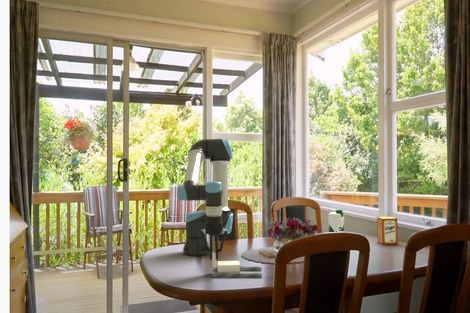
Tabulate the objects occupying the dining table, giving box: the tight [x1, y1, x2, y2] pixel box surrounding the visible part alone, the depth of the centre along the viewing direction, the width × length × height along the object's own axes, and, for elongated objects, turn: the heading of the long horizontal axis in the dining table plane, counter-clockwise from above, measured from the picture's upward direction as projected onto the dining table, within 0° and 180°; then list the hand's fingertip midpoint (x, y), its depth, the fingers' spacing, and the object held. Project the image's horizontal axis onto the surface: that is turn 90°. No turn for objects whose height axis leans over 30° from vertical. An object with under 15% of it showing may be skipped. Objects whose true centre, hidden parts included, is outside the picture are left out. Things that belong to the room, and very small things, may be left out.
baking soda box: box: [376, 216, 399, 245], centre depth 222 cm, size 10×6×16 cm
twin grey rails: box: [211, 265, 263, 279], centre depth 164 cm, size 22×12×2 cm, turn 87°
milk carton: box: [327, 209, 345, 233], centre depth 229 cm, size 9×9×20 cm
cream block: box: [217, 260, 241, 273], centre depth 164 cm, size 10×7×5 cm
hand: (214, 266), depth 164 cm, fingers closed
